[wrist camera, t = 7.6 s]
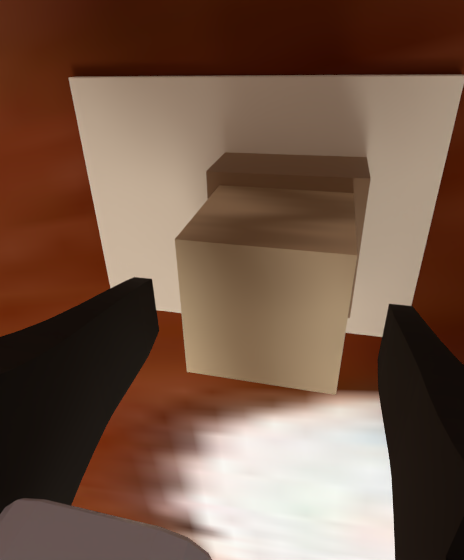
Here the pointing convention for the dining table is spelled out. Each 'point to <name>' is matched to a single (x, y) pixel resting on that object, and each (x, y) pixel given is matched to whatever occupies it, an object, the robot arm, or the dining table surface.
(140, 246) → the build board
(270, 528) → the dining table surface
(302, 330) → the maple cube
